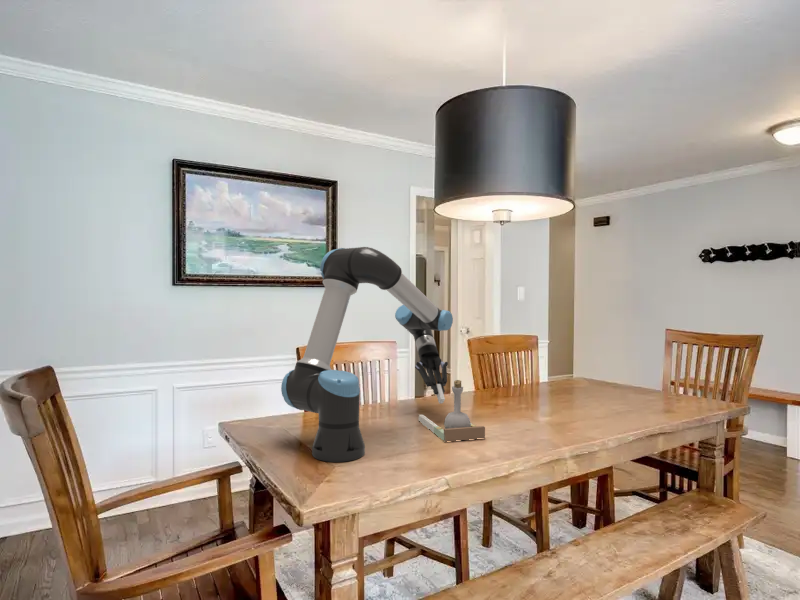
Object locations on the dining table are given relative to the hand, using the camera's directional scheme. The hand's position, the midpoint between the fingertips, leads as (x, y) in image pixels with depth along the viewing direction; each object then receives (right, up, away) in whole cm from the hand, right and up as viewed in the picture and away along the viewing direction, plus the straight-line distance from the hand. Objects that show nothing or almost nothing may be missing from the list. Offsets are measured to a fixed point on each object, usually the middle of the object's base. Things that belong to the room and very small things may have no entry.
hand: (441, 401), depth 172 cm
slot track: (+2, -8, -6) cm, 11 cm away
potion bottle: (+4, -9, -12) cm, 16 cm away
